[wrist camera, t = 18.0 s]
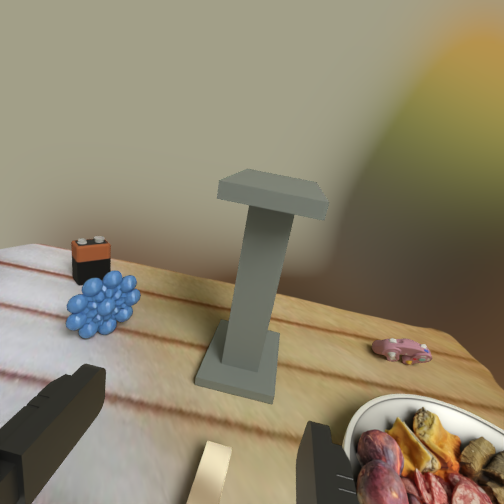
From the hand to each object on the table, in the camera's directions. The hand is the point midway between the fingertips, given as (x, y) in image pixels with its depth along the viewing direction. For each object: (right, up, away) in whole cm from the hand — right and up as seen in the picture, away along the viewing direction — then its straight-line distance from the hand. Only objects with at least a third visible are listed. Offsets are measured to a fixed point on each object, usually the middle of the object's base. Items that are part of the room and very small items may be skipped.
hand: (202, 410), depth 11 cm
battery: (-35, 0, +56) cm, 66 cm away
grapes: (-24, -8, +41) cm, 48 cm away
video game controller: (+31, -16, +48) cm, 59 cm away
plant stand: (0, -13, +40) cm, 42 cm away
